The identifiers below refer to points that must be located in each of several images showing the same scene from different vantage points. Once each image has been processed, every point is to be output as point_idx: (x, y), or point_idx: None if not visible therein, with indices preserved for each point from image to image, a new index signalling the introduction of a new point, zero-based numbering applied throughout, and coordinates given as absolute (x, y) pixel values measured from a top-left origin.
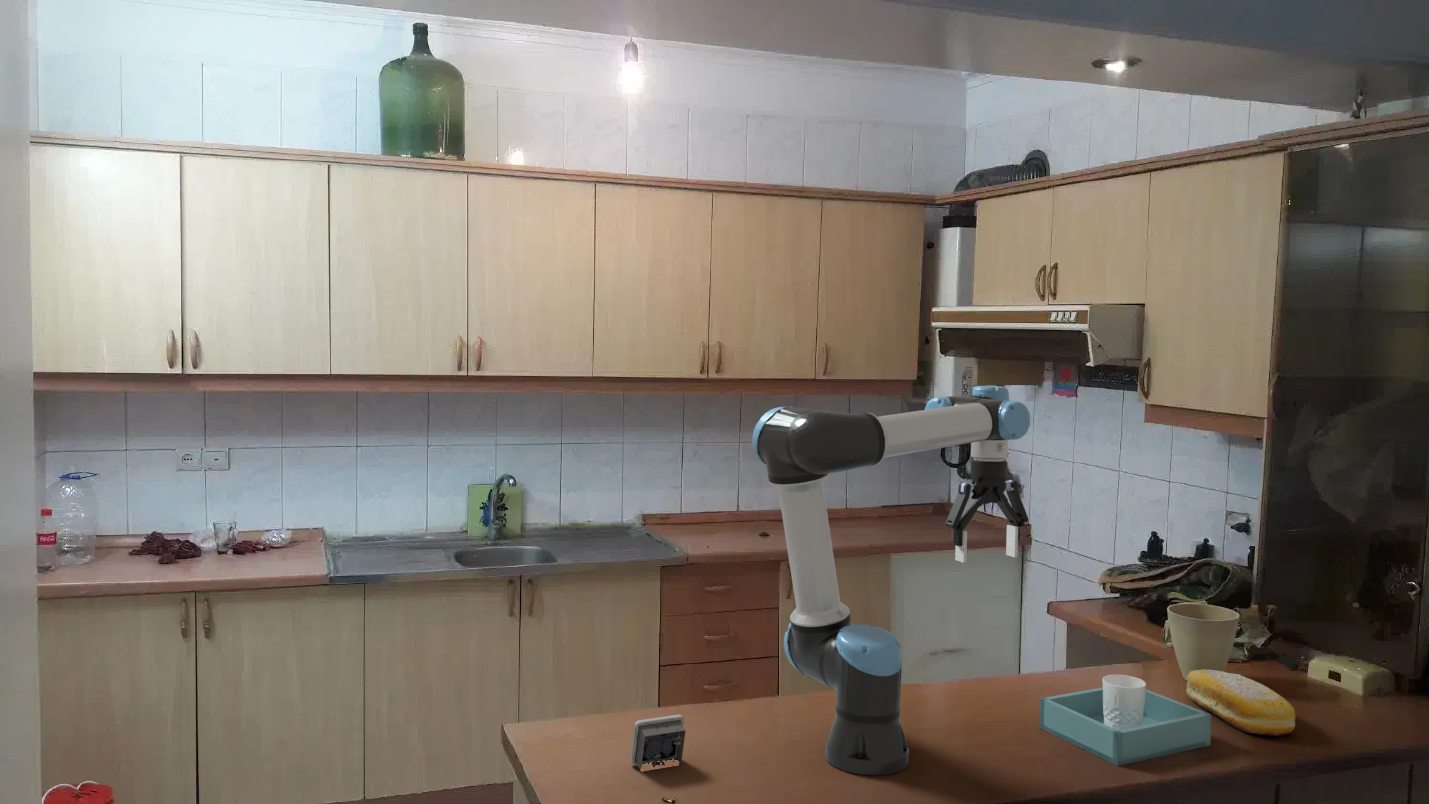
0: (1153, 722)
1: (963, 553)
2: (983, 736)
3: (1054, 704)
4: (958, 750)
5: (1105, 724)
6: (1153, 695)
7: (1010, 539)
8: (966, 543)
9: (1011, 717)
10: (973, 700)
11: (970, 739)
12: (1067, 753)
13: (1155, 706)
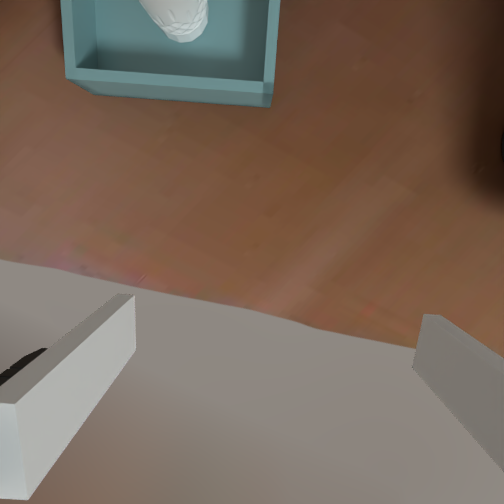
0: (107, 16)
1: (472, 338)
2: (363, 122)
3: (274, 56)
4: (432, 99)
5: (204, 21)
6: (72, 5)
7: (91, 376)
8: (501, 369)
9: (273, 160)
10: (271, 237)
11: (387, 123)
12: (309, 9)
13: (83, 10)
